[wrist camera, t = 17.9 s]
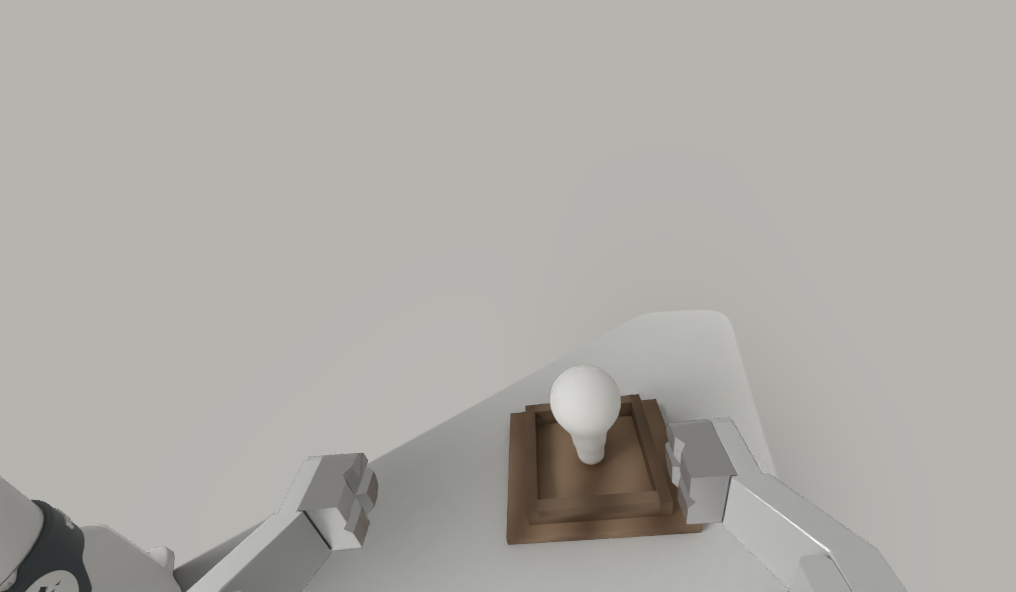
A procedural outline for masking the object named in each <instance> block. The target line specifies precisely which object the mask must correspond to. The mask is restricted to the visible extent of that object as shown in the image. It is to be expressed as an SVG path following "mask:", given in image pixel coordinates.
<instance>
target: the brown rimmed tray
mask: <svg viewBox="0 0 1016 592" xmlns="http://www.w3.org/2000/svg"><path fill="white" fill-rule="evenodd" d="M667 442H668V438H667V435H666V426H665V423H664V421H663V418H662V415H661V412H660V410H659V407H658V404H657V401H656V399H652V400H642V401H641V400H640V397H639V394H637V395H627V396H621V407H620V411H619V415H618V417H617V419H616V421H615V422H614V424H613V425H612V426H611V427H610V429H609V430H608V431H607V434H606V443H605V445H604V457H603V459H602V460H601V461H600V462H599V463H597V464H593V465H590V464H586V463H584V462H582V461H581V460H580V459H579V457H578V453H577V450H576V447H575V445H574V444H573V441H572V437H571V435H570V433H569V432H567V431H566V430H565V429H564V428H563V427H562V426H561V425H560V424H559V423H558V422H557V420H556V419H555V417H554V415H553V413H552V410H551V406H550V403H549V404H539V405H529V406H526V412H522V413H512V414H511V420H510V449H509V479H508V508H507V537H506V538H507V542H508V545H511V544H527V543H542V542H558V541H574V540H589V539H605V538H620V537H636V536H652V535H667V534H683V533H699V532H701V524H686V521H685V518H684V516H683V513H682V510H681V507H680V504H679V501H678V487H677V486H676V485H675V484H674V483H672V481H671V478H670V475H669V472H668V468H667V464H666V457H665V444H666V443H667Z"/></svg>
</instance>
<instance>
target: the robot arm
mask: <svg viewBox="0 0 1016 592" xmlns="http://www.w3.org/2000/svg"><path fill="white" fill-rule="evenodd" d="M666 435H667V438H668V442H667V443H666V444H665V457H666V464H667V468H668V472H669V475H670V478H671V481H672V483H674V484H675V485H676V486H677V487H678V501H679V504H680V507H681V510H682V513H683V516H684V518H685V521H686V524H703V523H723V525H724V526H725V527H726V528H727V529H728V530H729V531H730V532H731V533H732V534H733V535H734V536H735V537H736V538H737V539H738V540H739V541H740V542H741V543H742V544H743V545H744V546H745V547H746V548H747V549H748V550H749V551H750V552H751V553H752V554H753V555H754V556H755V557H756V558H757V559H758V560H759V561H760V562H761V563H762V564H763V565H764V566H765V567H766V568H767V569H768V570H769V571H770V572H771V573H772V574H773V575H774V576H775V577H776V578H777V579H778V580H779V581H780V582H781V583H782V584H783V585H784V586H785V587H786V588H787V589H788V592H907V590H906V589H905V587H904V586H903V585H902V583H901V582H900V580H899V579H898V577H897V576H896V575H895V573H894V572H893V570H892V569H891V567H890V566H889V565H888V563H887V562H886V560H885V559H884V558H883V556H882V555H881V553H880V551H879V550H878V549H877V548H875V547H874V546H872V545H871V544H869V543H868V542H866V541H865V540H864V539H862V538H861V537H859V536H858V535H856V534H855V533H854V532H852V531H851V530H849V529H848V528H846V527H845V526H844V525H842V524H841V523H839V522H838V521H836V520H835V519H834V518H832V517H831V516H829V515H828V514H826V513H825V512H824V511H822V510H821V509H819V508H818V507H816V506H815V505H813V504H812V503H811V502H809V501H808V500H806V499H805V498H803V497H802V496H801V495H799V494H798V493H796V492H795V491H793V490H792V489H791V488H789V487H788V486H786V485H785V484H783V483H782V482H780V481H779V480H778V479H776V478H775V477H773V476H772V475H770V474H769V473H767V474H762V472H761V470H760V469H759V467H758V465H757V463H756V461H755V460H754V458H753V456H752V454H751V453H750V451H749V449H748V447H747V445H746V444H745V442H744V440H743V438H742V437H741V435H740V433H739V431H738V429H737V428H736V426H735V424H734V422H733V421H732V420H731V419H730V418H729V417H728V418H717V419H708V420H707V419H703V420H693V421H684V422H675V423H668V424H667V426H666ZM367 462H368V460H367V458H366V456H365V455H364V453H354V454H339V455H325V456H313V457H308V458H307V459H306V460H305V461H304V462H303V464H302V466H301V468H300V470H299V472H298V474H297V476H296V478H295V480H294V482H293V484H292V486H291V488H290V490H289V492H288V494H287V496H286V498H285V500H284V502H283V504H282V507H281V508H280V510H279V512H278V513H276V514H272V515H271V516H270V517H269V518H268V519H267V520H265V521H264V522H263V523H262V524H261V525H260V526H259V527H258V528H257V529H255V530H254V531H253V532H252V533H251V534H250V535H249V536H248V537H247V538H245V539H244V540H243V541H242V542H241V543H240V544H239V545H238V546H237V547H235V548H234V549H233V550H232V551H231V552H230V553H229V554H228V555H226V556H225V557H224V558H223V559H222V560H221V561H220V562H219V563H218V564H216V565H215V566H214V567H213V568H212V569H211V570H210V571H209V572H208V573H206V574H205V575H204V576H203V577H202V578H201V579H200V580H199V581H198V582H196V583H195V584H194V585H193V586H192V587H191V588H190V589H189V590H188V591H186V592H301V591H302V589H303V588H304V587H305V586H306V584H307V583H308V582H309V581H310V579H311V578H312V577H313V575H314V574H315V573H316V572H317V570H318V569H319V568H320V567H321V565H322V564H323V563H324V562H325V560H326V559H327V558H328V556H329V555H330V554H331V551H332V550H342V549H352V548H362V546H363V542H364V539H365V536H366V533H367V529H368V526H369V523H370V522H369V520H368V517H367V514H368V513H369V512H370V510H371V509H372V508H373V507H374V506H375V502H376V499H377V491H378V483H377V478H376V475H375V473H374V471H373V470H371V469H369V468H368V467H366V465H367ZM173 568H174V553H173V551H171V550H170V549H168V548H166V547H164V546H162V547H157V548H153V549H149V550H145V551H144V550H142V549H141V548H140V547H138V546H137V545H135V544H134V543H132V542H131V541H129V540H128V539H126V538H125V537H124V536H122V535H121V534H119V533H118V532H116V531H115V530H113V529H112V528H110V527H109V526H107V525H104V524H96V525H94V526H85V527H81V528H79V527H78V526H77V525H75V524H74V523H73V522H72V521H71V519H70V518H69V517H68V516H67V515H66V514H65V513H63V512H62V511H60V510H59V509H56V508H53V507H52V506H50V505H49V504H47V503H46V502H43V501H40V500H30V499H28V498H27V497H26V496H25V495H23V494H22V493H21V492H20V491H18V490H17V489H16V488H15V487H13V486H12V485H11V484H9V483H8V482H7V481H6V480H5V479H3V478H2V477H1V476H0V592H182V591H181V589H180V587H179V585H178V584H177V582H176V581H175V579H174V576H173Z"/></svg>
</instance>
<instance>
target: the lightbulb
mask: <svg viewBox="0 0 1016 592" xmlns="http://www.w3.org/2000/svg"><path fill="white" fill-rule="evenodd" d="M550 406H551V410H552V413H553V415H554V417H555V419H556V420H557V422H558V423H559V424H560V425H561V426H562V427H563V428H564V429H565V430H566V431H567V432H569V433H570V435H571V437H572V441H573V444H574V445H575V447H576V450H577V453H578V457H579V459H580V460H581V461H582V462H584V463H586V464H590V465H593V464H597V463H599V462H600V461H601V460H602V459H603V457H604V445H605V443H606V434H607V431H608V430H609V429H610V427H611V426H612V425H613V424H614V422H615V421H616V419H617V417H618V415H619V411H620V407H621V396H620V393H619V390H618V387H617V385H616V384H615V382H614V380H613V379H612V378H611V377H610V376H609V375H608V374H607V373H606V372H604V371H603V370H601V369H599V368H597V367H594V366H591V365H577V366H573V367H571V368H568V369H567V370H565V371H564V372H562V373H561V374H560V375H559V376H558V378H557V379H556V380H555V382H554V384H553V386H552V389H551V393H550Z"/></svg>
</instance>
